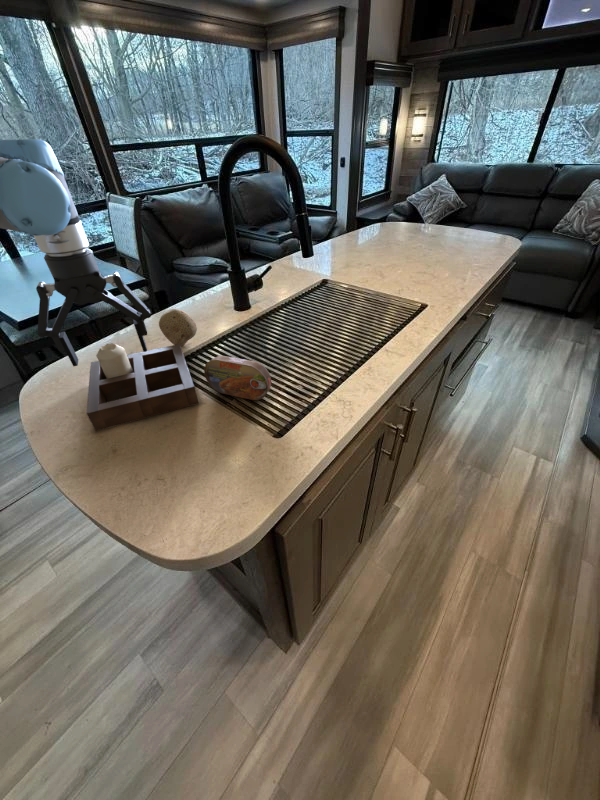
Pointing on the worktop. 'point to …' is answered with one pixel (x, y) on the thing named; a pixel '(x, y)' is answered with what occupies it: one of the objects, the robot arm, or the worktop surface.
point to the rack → (140, 388)
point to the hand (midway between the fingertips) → (111, 355)
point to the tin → (238, 377)
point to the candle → (114, 360)
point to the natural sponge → (177, 326)
